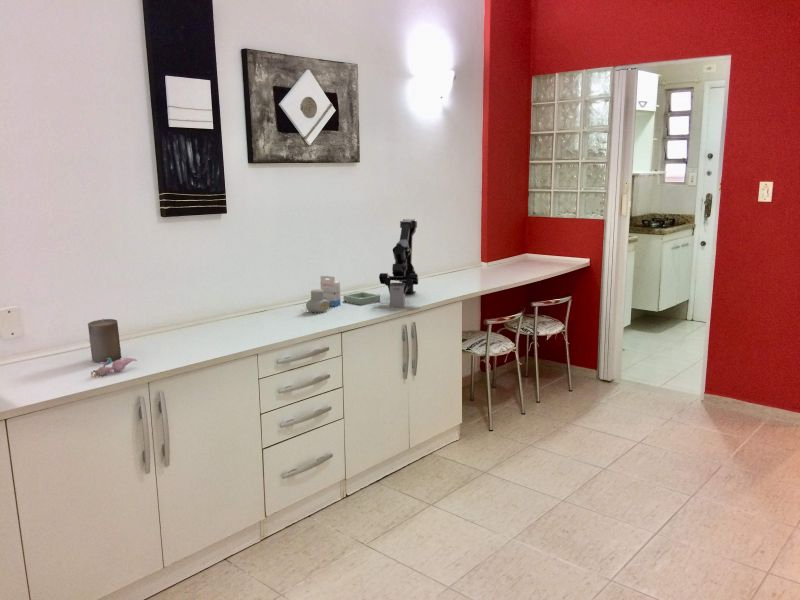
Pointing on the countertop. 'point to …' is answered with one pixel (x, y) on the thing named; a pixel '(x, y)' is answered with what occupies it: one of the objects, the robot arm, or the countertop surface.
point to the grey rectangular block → (397, 295)
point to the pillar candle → (104, 340)
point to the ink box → (331, 290)
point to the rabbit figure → (116, 366)
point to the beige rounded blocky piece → (317, 302)
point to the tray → (361, 298)
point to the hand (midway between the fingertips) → (396, 293)
